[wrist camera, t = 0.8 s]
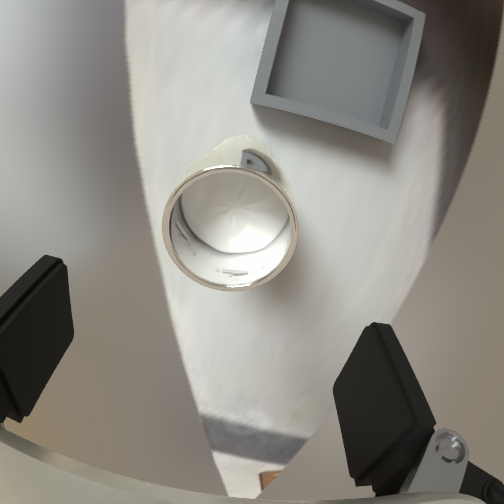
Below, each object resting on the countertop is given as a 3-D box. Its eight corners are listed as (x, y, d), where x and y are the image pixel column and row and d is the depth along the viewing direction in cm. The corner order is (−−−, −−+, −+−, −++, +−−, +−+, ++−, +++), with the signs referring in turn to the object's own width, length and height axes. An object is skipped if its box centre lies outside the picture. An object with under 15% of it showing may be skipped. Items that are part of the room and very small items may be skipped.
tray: (283, -25, 20) (285, -37, 18) (411, 19, 22) (425, 14, 19) (250, 102, 26) (249, 102, 23) (382, 140, 27) (394, 144, 25)
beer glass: (243, 219, 31) (233, 317, 18) (188, 169, 29) (130, 235, 15) (296, 168, 29) (332, 233, 15) (241, 114, 27) (225, 128, 13)
